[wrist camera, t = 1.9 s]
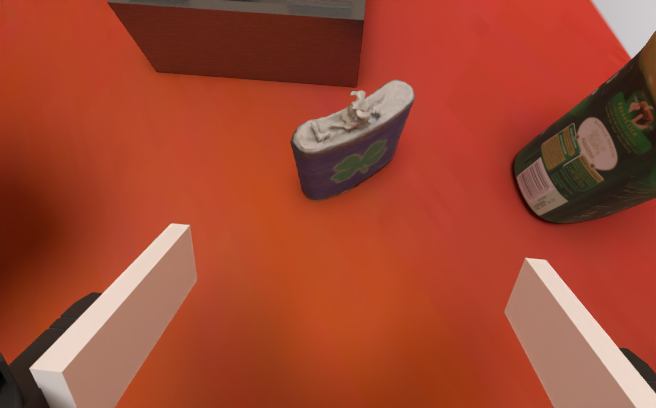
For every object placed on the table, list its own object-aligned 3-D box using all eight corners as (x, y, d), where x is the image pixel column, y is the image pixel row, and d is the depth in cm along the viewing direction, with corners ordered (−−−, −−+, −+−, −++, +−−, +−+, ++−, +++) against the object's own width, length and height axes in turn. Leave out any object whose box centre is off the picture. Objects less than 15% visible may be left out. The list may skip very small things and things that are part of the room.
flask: (384, 136, 32) (409, 53, 22) (401, 161, 31) (436, 87, 21) (296, 183, 31) (279, 117, 20) (312, 210, 30) (302, 156, 20)
